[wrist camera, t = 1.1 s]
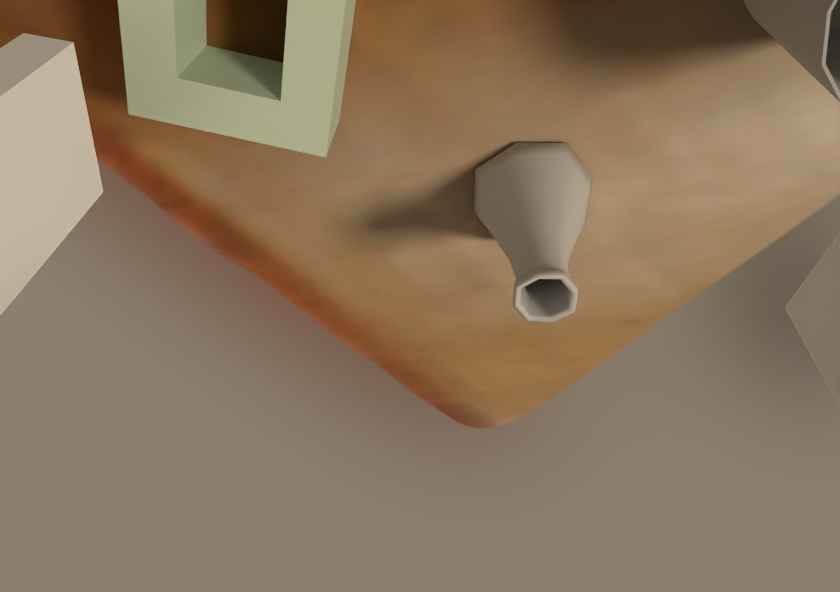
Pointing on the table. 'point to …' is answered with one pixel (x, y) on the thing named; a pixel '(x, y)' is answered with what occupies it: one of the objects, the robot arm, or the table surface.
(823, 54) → the cup
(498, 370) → the table surface
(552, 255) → the flask
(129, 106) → the socket board
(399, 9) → the table surface
